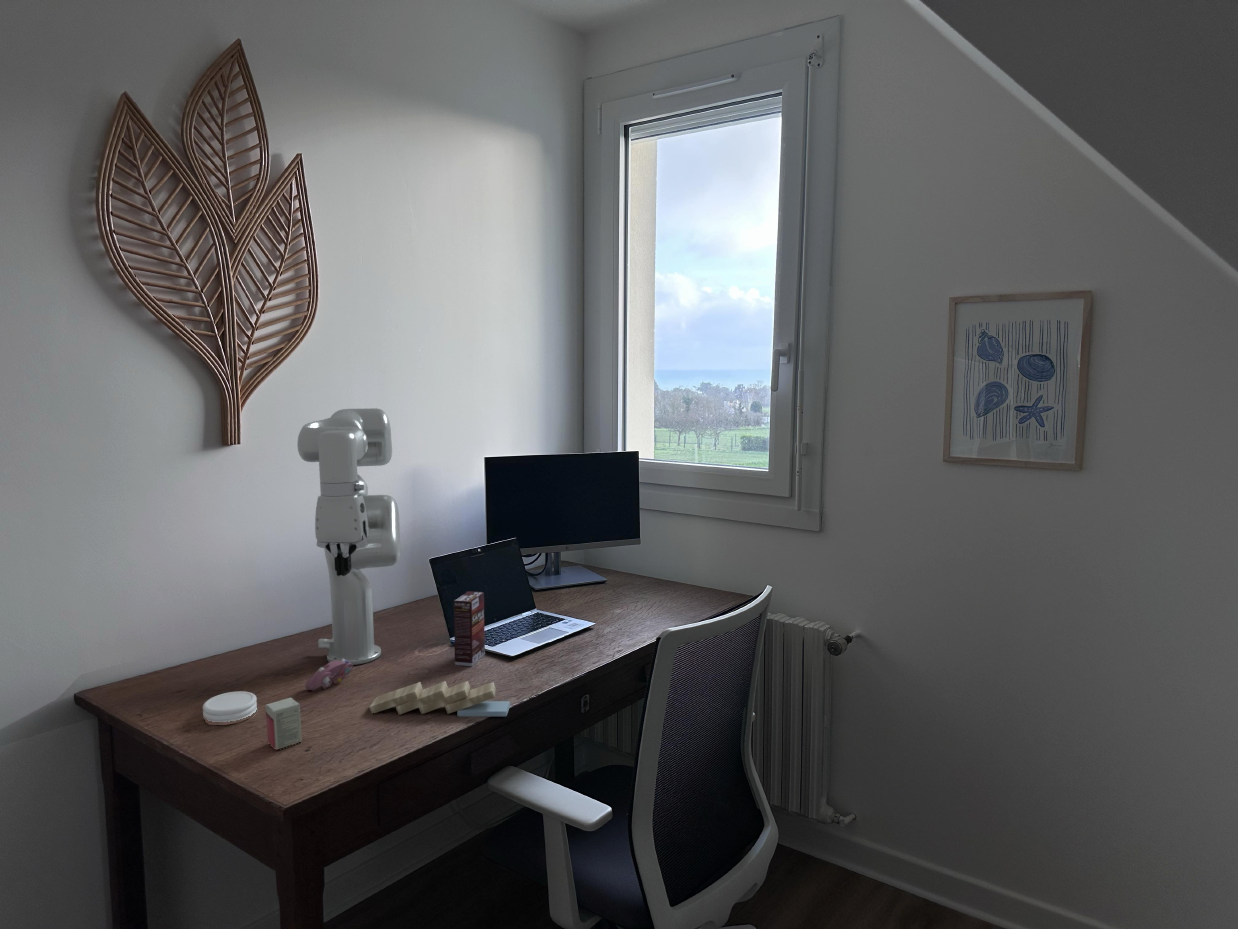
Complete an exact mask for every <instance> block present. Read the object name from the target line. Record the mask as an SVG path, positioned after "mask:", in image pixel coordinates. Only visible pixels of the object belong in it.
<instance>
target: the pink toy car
mask: <svg viewBox="0 0 1238 929" xmlns="http://www.w3.org/2000/svg"><path fill="white" fill-rule="evenodd" d="M353 668H354V665H352V664H351V663H350V662H349V661H347V660H345V659H342V660H341V661H338V660H337V661H332V662H329V661H328V663H326V664H325V665H324V666H321V667H320V668H318V670H316V672H314V674H313V675H311V677H310V678H308V679H307V680H306V681H305V684H304V688H305V690H306V691H308V690H312V691H315V690H316V689H317V688H319V687H321V688H322V689H323V690H326V688H327V687H329V688H330V687H331V686H332V684H333V683H334V684H335V685H338V684H340V683H341V682H342V681H343V680H344V679H345V677H347V676H348V675H349V674H350V673H351V672H352V671H353ZM327 689H328V688H327Z"/></svg>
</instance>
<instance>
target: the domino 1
mask: <svg viewBox="0 0 1238 929" xmlns="http://www.w3.org/2000/svg"><path fill="white" fill-rule="evenodd" d="M422 690H424V688H423V685H422V682H421V681H418V682H417V683H412V684H409V685H408V686H407V685H406V686H404V687H401V688H398V689H395V690H393V691H390V692H387V693H383V694H381V695H378V696H376V697H375V698H374V699H373V700H372V702H371V703H370V704H369V707H368V708H369V710H370V712H371V714H372V715H373V713H374V714H376V713H379V712H382V711H385V710H388V709H391V708H394V707H397V705H400V704H403V703H406V702H409V701H412V700H415V699H418V697H419V695H420V693H421V692H422Z"/></svg>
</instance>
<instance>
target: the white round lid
mask: <svg viewBox="0 0 1238 929" xmlns="http://www.w3.org/2000/svg"><path fill="white" fill-rule="evenodd" d="M257 701H258V700H257V695H255V693H252V692H249V691H245V690H243V691H240V690H239V691H230V692H225V693H221V694H218V695H215V696H212V697H210V698H209V699H207V700H206V701H205V702H204V703H203V705H202V715H203V718H204V717H205V718H206V719H207V720H208V721H212V722H227V721H228V722H230V721H236V720H240V719H243V718H246V717H248V716H251V715H252V714H253V713H255V712H256V710H257V711H258V708H257V707H258V702H257Z"/></svg>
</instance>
